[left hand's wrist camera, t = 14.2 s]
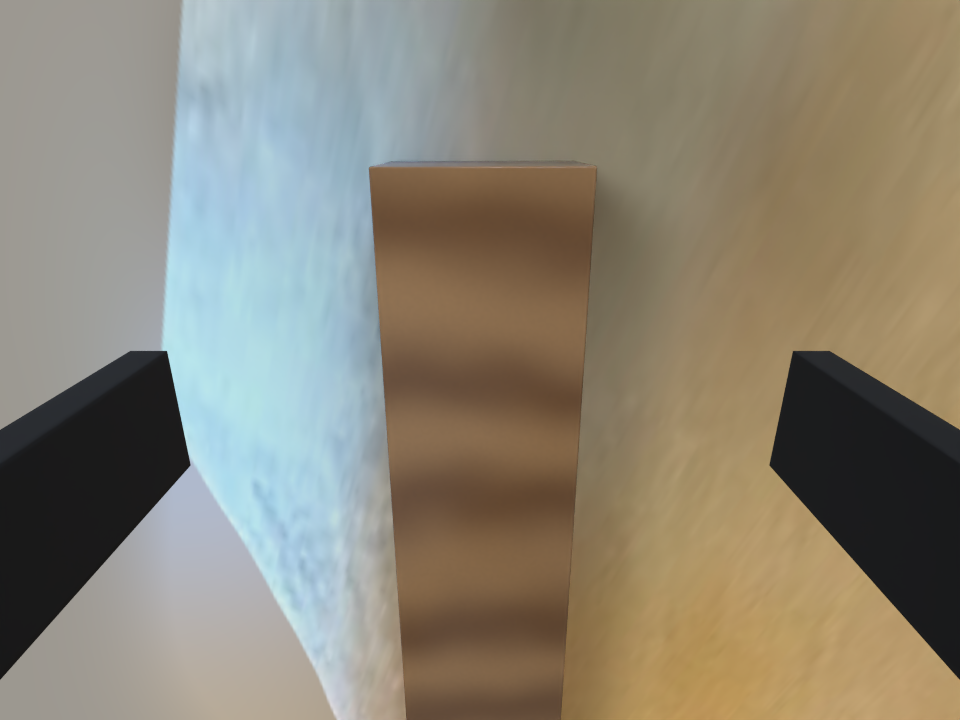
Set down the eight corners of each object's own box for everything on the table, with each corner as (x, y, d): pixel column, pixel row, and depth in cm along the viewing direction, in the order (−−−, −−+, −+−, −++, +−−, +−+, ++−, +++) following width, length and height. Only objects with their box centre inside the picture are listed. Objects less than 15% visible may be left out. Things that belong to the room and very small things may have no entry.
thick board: (389, 161, 31) (368, 166, 25) (574, 160, 31) (597, 166, 25) (425, 793, 49) (417, 884, 43) (541, 793, 49) (550, 883, 43)
